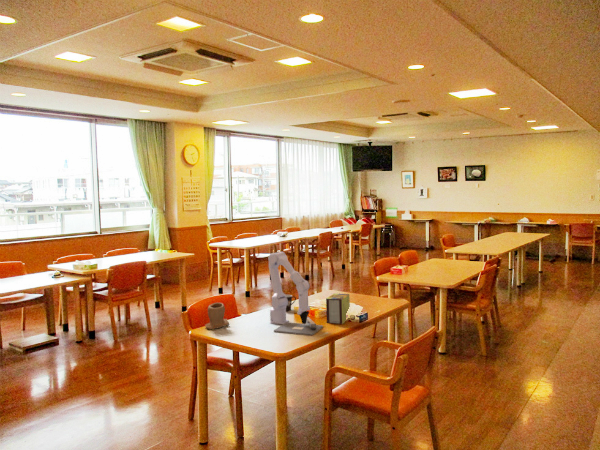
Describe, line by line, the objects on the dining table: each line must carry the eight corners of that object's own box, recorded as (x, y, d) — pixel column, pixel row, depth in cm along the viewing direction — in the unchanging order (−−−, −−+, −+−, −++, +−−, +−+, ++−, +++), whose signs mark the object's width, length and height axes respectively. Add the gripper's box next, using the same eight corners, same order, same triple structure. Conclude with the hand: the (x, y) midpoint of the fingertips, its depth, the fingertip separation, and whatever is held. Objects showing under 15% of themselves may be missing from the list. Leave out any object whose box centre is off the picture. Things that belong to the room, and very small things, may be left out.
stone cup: (212, 331, 298) (211, 307, 297) (202, 327, 307) (201, 303, 306) (234, 326, 307) (233, 302, 306) (224, 323, 317) (223, 299, 315)
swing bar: (316, 329, 291) (316, 324, 291) (311, 330, 291) (311, 325, 290) (309, 321, 309) (308, 316, 309) (304, 322, 308) (304, 317, 308)
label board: (273, 332, 294) (273, 330, 294) (286, 323, 310) (286, 322, 310) (312, 335, 284) (311, 333, 284) (322, 327, 301) (322, 325, 301)
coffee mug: (280, 312, 340) (280, 297, 339) (279, 309, 348) (278, 294, 347) (297, 311, 341) (297, 296, 340) (296, 308, 350) (295, 293, 349)
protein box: (350, 318, 320) (349, 294, 318) (342, 324, 306) (341, 299, 304) (334, 316, 324) (334, 293, 323) (326, 323, 310) (325, 298, 309)
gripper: (305, 304, 293) (305, 327, 294) (314, 299, 306) (314, 320, 307) (293, 303, 296) (294, 326, 297) (303, 298, 309) (304, 320, 310)
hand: (304, 323), depth 302 cm, fingers closed
